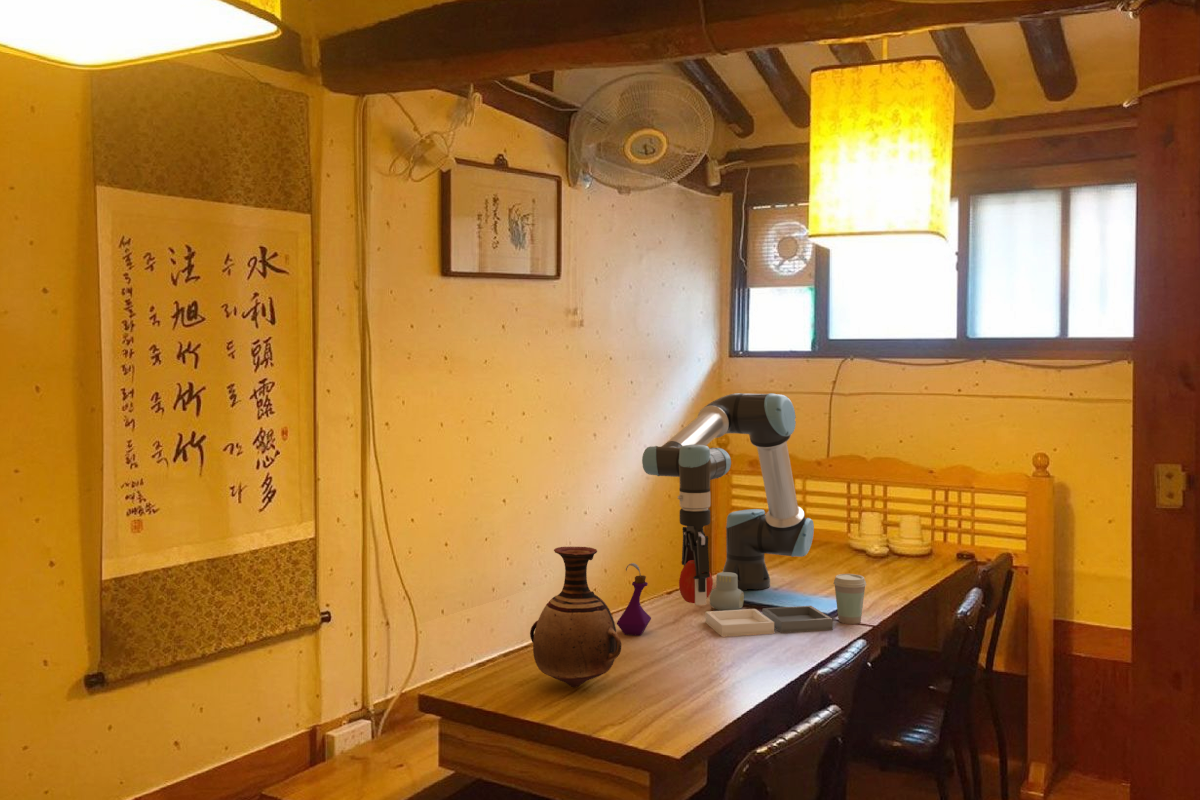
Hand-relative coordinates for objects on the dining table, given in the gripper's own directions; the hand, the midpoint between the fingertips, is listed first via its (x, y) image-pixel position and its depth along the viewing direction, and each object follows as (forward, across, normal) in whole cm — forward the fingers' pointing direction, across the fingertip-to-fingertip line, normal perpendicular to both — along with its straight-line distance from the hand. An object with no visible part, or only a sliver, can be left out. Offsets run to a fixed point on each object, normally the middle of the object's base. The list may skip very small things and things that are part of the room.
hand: (695, 599), depth 253 cm
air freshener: (+12, -32, +19) cm, 39 cm away
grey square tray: (+12, -12, +32) cm, 36 cm away
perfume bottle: (+12, -14, -12) cm, 22 cm away
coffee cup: (+12, -12, +47) cm, 50 cm away
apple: (+1, 0, 0) cm, 1 cm away
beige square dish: (+12, -12, +16) cm, 23 cm away
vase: (+11, +24, -34) cm, 44 cm away
